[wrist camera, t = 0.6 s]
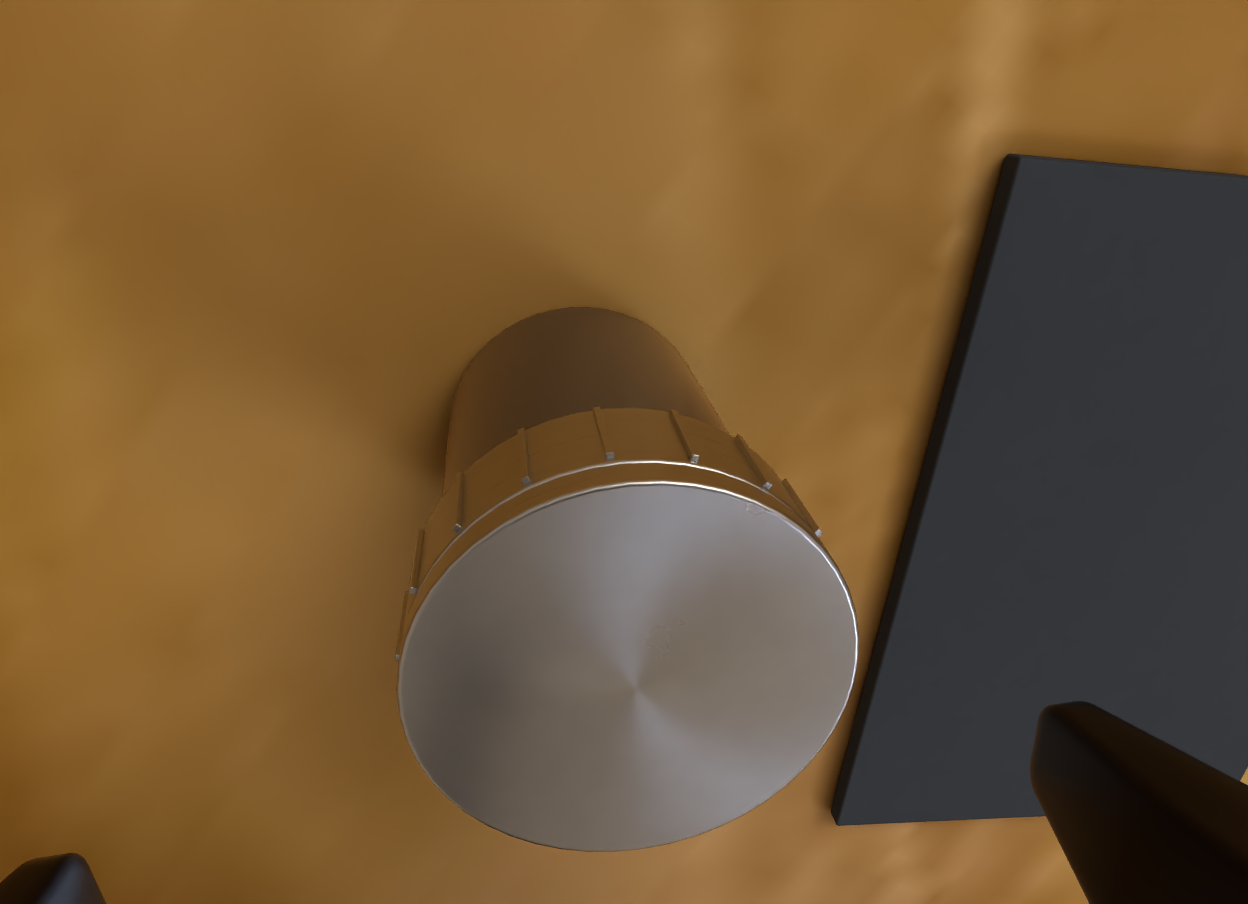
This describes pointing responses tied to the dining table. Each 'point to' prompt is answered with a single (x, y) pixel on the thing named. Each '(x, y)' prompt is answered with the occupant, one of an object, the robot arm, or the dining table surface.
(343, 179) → the dining table surface
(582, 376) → the dark brown cylinder
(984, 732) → the slate mat
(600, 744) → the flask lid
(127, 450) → the dining table surface
